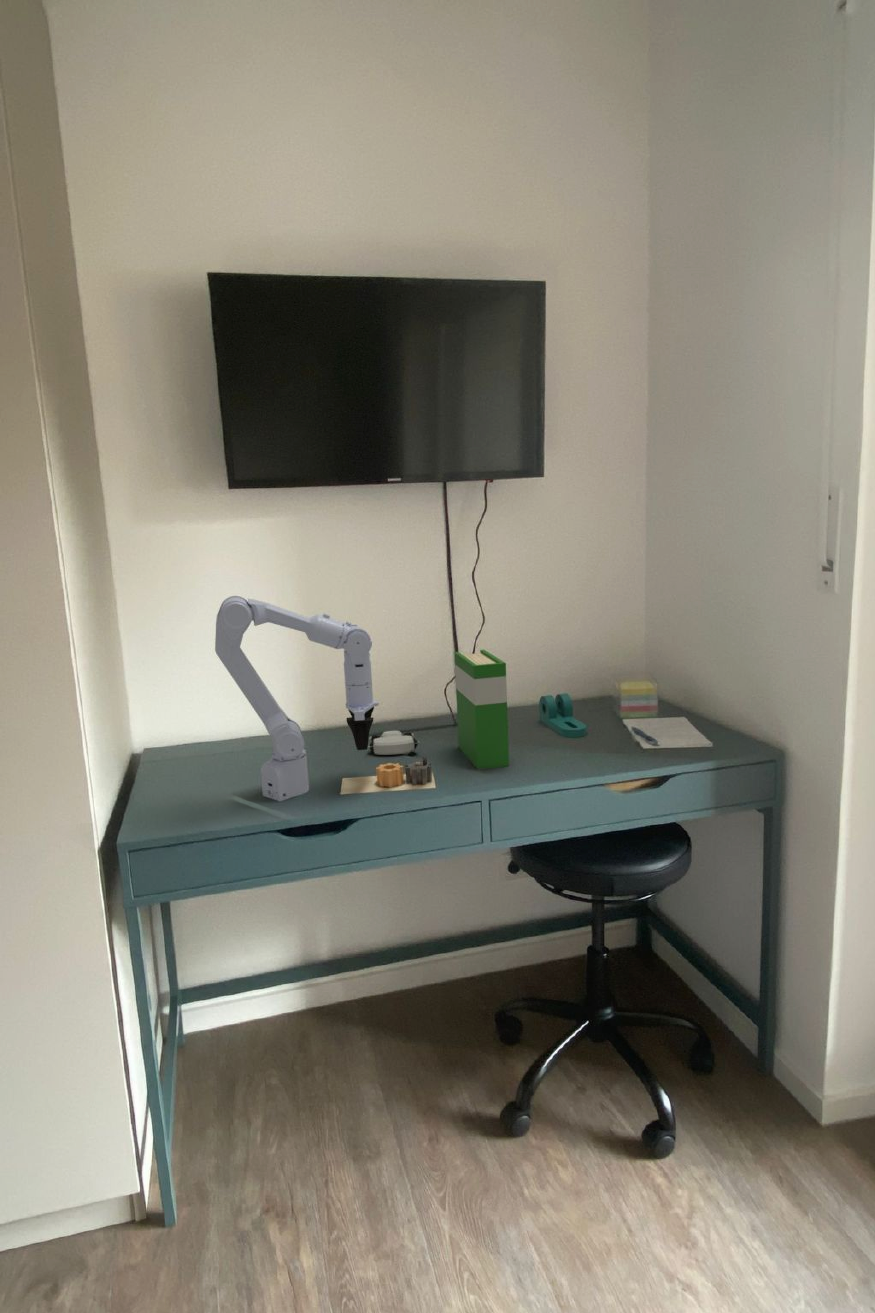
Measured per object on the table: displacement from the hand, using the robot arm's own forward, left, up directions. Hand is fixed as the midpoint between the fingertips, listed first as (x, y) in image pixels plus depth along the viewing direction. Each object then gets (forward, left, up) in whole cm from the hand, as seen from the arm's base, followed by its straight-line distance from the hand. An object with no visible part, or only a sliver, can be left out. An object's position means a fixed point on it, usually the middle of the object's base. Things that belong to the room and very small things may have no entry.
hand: (362, 744), depth 177 cm
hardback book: (+30, -9, -10) cm, 33 cm away
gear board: (+2, -5, -9) cm, 11 cm away
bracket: (+60, -13, -10) cm, 62 cm away
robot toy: (+21, +12, -10) cm, 26 cm away
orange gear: (+2, -5, -8) cm, 10 cm away
